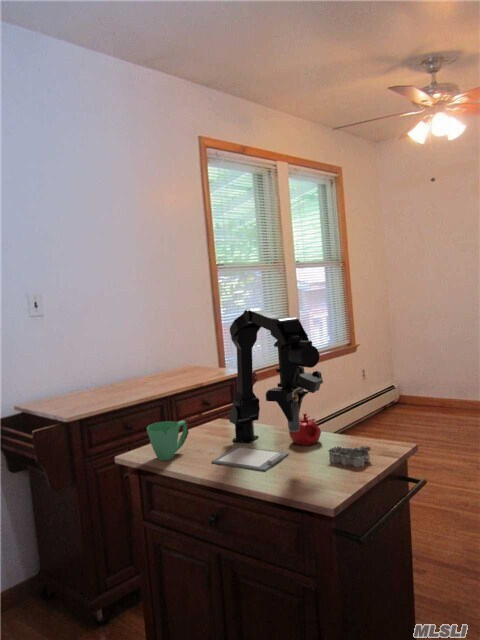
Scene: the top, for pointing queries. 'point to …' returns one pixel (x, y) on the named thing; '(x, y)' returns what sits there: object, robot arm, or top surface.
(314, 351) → the robot arm
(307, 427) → the pomegranate
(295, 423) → the marker
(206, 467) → the top surface
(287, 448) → the top surface
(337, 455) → the egg carton
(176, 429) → the mug
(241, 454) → the whiteboard
